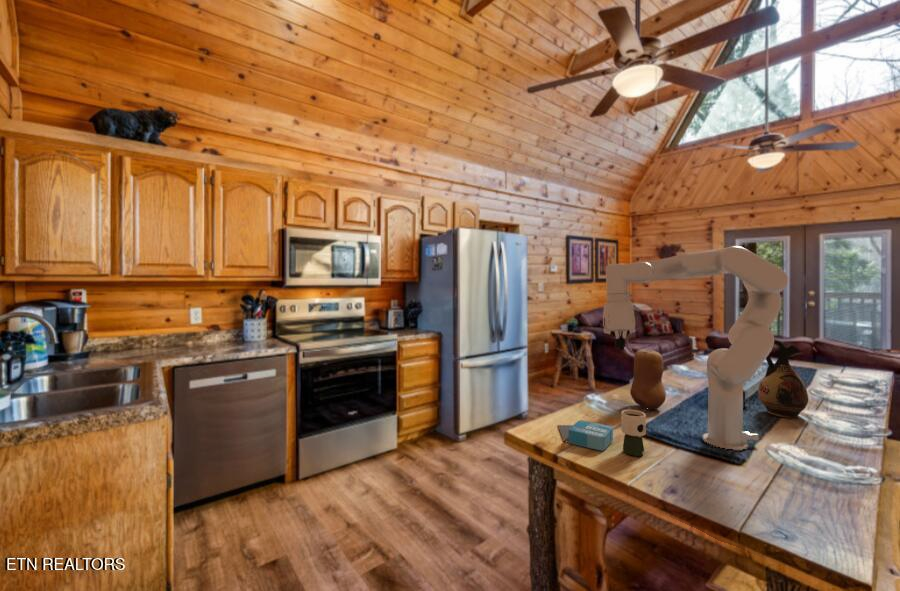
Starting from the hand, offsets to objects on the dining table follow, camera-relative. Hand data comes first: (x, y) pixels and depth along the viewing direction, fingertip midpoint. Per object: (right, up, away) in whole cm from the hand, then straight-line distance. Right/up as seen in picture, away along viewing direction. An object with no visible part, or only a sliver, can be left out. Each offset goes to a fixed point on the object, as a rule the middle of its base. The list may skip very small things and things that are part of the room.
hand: (620, 349), depth 143 cm
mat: (-15, -31, 0) cm, 34 cm away
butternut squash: (+24, -29, +28) cm, 47 cm away
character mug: (-3, -31, -16) cm, 35 cm away
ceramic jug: (+72, -29, +18) cm, 79 cm away
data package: (-9, -28, -2) cm, 30 cm away
